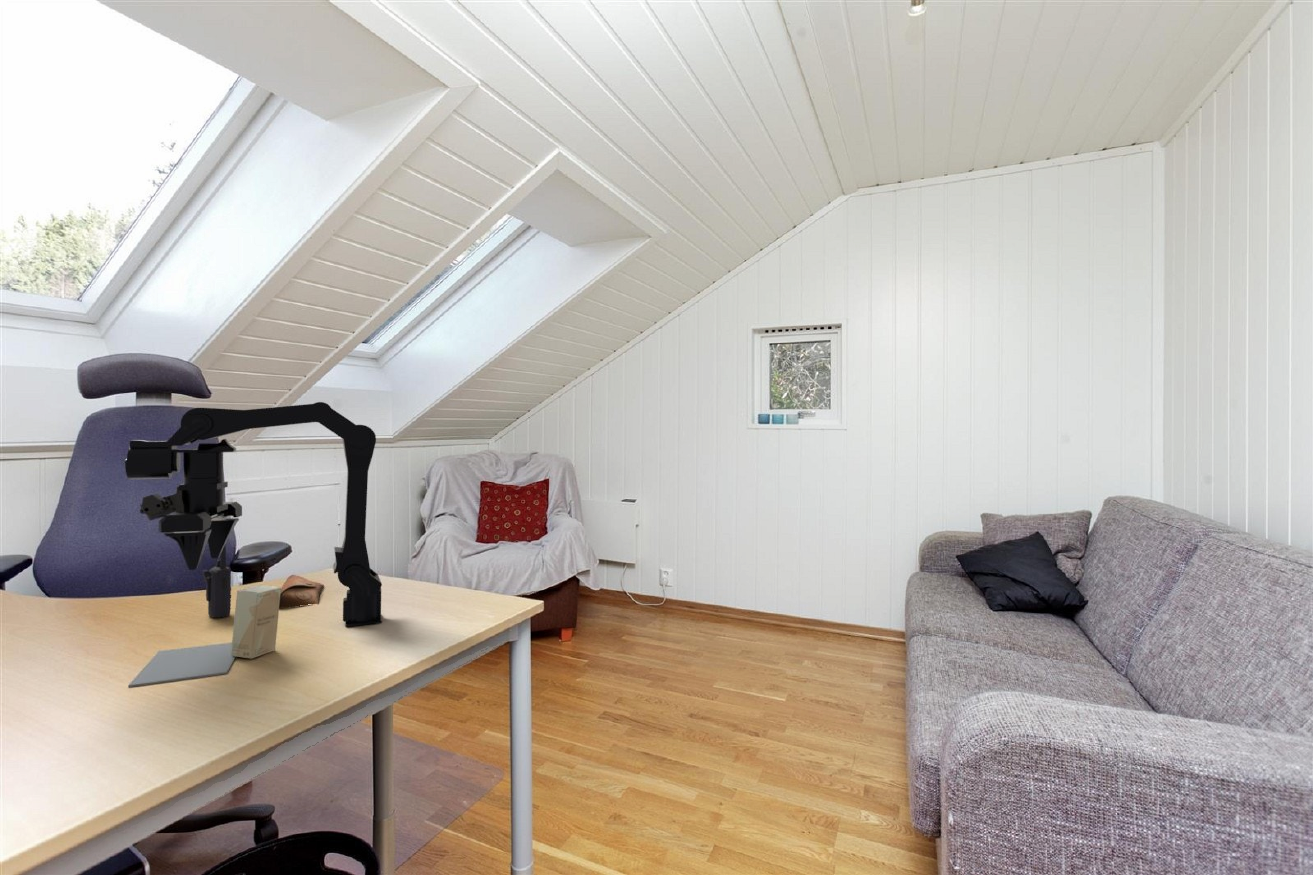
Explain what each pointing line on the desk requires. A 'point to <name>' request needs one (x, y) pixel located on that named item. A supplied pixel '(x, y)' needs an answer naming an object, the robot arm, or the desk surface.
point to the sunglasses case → (299, 592)
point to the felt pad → (186, 664)
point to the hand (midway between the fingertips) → (204, 563)
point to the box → (255, 621)
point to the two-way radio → (218, 588)
